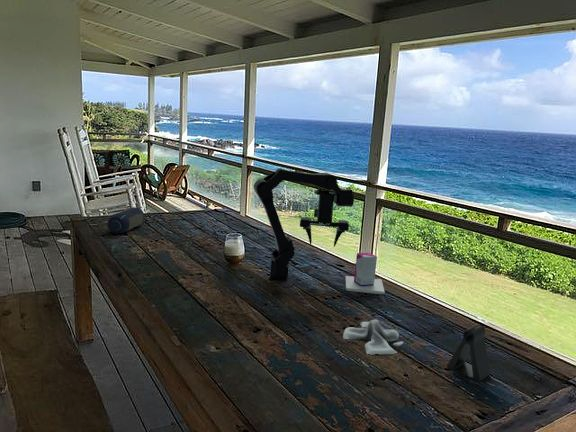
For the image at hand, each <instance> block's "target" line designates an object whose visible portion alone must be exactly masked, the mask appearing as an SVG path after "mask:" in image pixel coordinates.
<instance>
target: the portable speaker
mask: <svg viewBox="0 0 576 432" xmlns="http://www.w3.org/2000/svg"><path fill="white" fill-rule="evenodd" d="M145 216H146V215H145V213H144V211H143V210H142V209H141V208H140V207H137V206H135V207H130V208H128V209H125V210H122V211H119V212H116V213H114V214H113V215H112V216H111V217H109V219H108V221H107V227H108V229H109V231H110V232H111V233H113V234H118V233H120V234H125V233H126V232H128V231H130V230H132V229H134V227H135V228H137V227H139V226H141V225H142V224H143V223H144V222H145V220H146V219H145V218H146V217H145Z"/></svg>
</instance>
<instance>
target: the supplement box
mask: <svg viewBox="0 0 576 432" xmlns="http://www.w3.org/2000/svg"><path fill="white" fill-rule="evenodd" d="M377 262H378V256H377V255H375V254H372V253H370V252H357V253H356V259H355V268H354V276H353V277H354V282H355V283H357V284H358V285H360V286H372V285H374V279H376V277H375V276H376V270H377V269H376V268H377Z"/></svg>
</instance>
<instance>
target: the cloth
mask: <svg viewBox="0 0 576 432" xmlns="http://www.w3.org/2000/svg"><path fill="white" fill-rule="evenodd" d="M359 325H360V326H361V327H360V328H358V327H349V326H348V327H346V328H345V329H344V331H343V334H342V338H343V339H344V340H345V339H350V340H360V339H363V341H367V342H366V343H364V349H365V352H366V353H367V354H366V355H368V354H370V355H369V356H374V355H375V354H379V355H394V354H395V353H396V354H397V353H398V352H397V351H396V350H395V349H393V348H392V347H391V346H390V345H389V343H390V342H393V346H395V347H400V346H401V345H403V344H404V341H402V340H401V341H397V340H398V339H399V336H400V334H399V331H397V330H395V329H393V328H392V329H387V328H384V327H383V326H382V325H381V324H380V322H379V320H378V319H377V318H376V319H371V320H370V321H362V322H360V323H359ZM370 340H371V341H370ZM387 341H388V342H387ZM389 341H390V342H389ZM394 341H396V342H394ZM375 356H376V355H375Z"/></svg>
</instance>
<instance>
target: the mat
mask: <svg viewBox="0 0 576 432" xmlns="http://www.w3.org/2000/svg"><path fill="white" fill-rule="evenodd" d="M345 291H346V292H347V291H348V292H357V293H358V292H359V293H366V294H375V295H385V293H386V292H385V287H384V284H383V280H382V279H381V278H375V279H374V285H372V286H360V285H358V284H357V283H355V282H354V276H352V275H345Z"/></svg>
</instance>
